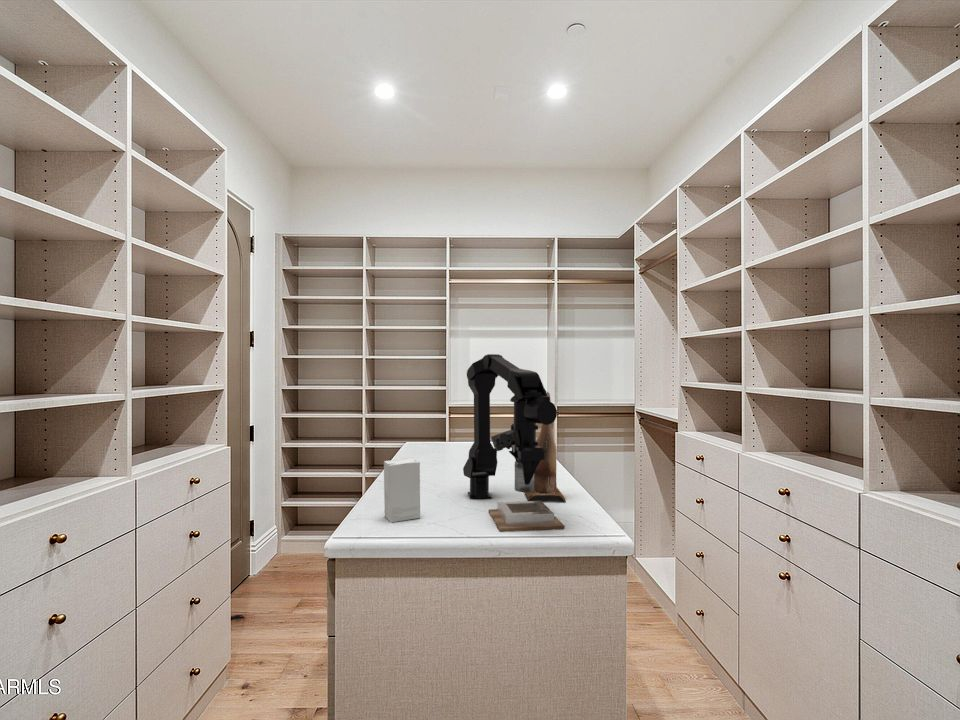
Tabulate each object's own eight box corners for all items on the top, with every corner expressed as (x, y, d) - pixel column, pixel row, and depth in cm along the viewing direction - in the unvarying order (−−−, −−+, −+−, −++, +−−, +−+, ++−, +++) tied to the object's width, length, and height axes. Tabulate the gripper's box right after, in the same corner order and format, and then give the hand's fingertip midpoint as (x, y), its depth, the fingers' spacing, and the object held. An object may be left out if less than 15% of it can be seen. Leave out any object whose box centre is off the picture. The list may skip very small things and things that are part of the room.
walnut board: (488, 512, 133) (488, 509, 133) (546, 510, 136) (546, 507, 136) (499, 531, 118) (499, 528, 118) (564, 529, 120) (564, 525, 120)
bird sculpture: (528, 504, 143) (530, 393, 142) (522, 492, 155) (524, 390, 154) (566, 504, 144) (569, 393, 143) (557, 492, 155) (559, 390, 155)
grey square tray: (497, 511, 132) (497, 502, 132) (541, 509, 133) (541, 500, 134) (506, 525, 120) (506, 515, 120) (554, 523, 122) (554, 513, 122)
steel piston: (512, 487, 129) (512, 460, 129) (531, 487, 130) (531, 460, 130) (516, 492, 124) (516, 464, 124) (536, 492, 125) (536, 464, 125)
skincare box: (413, 513, 133) (414, 457, 133) (421, 519, 127) (421, 461, 127) (382, 517, 129) (383, 459, 129) (389, 523, 124) (389, 463, 124)
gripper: (487, 417, 135) (487, 474, 135) (500, 425, 117) (500, 492, 116) (527, 416, 137) (527, 473, 137) (546, 424, 118) (546, 490, 118)
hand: (524, 481), depth 127 cm, fingers closed on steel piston, 5 cm apart
